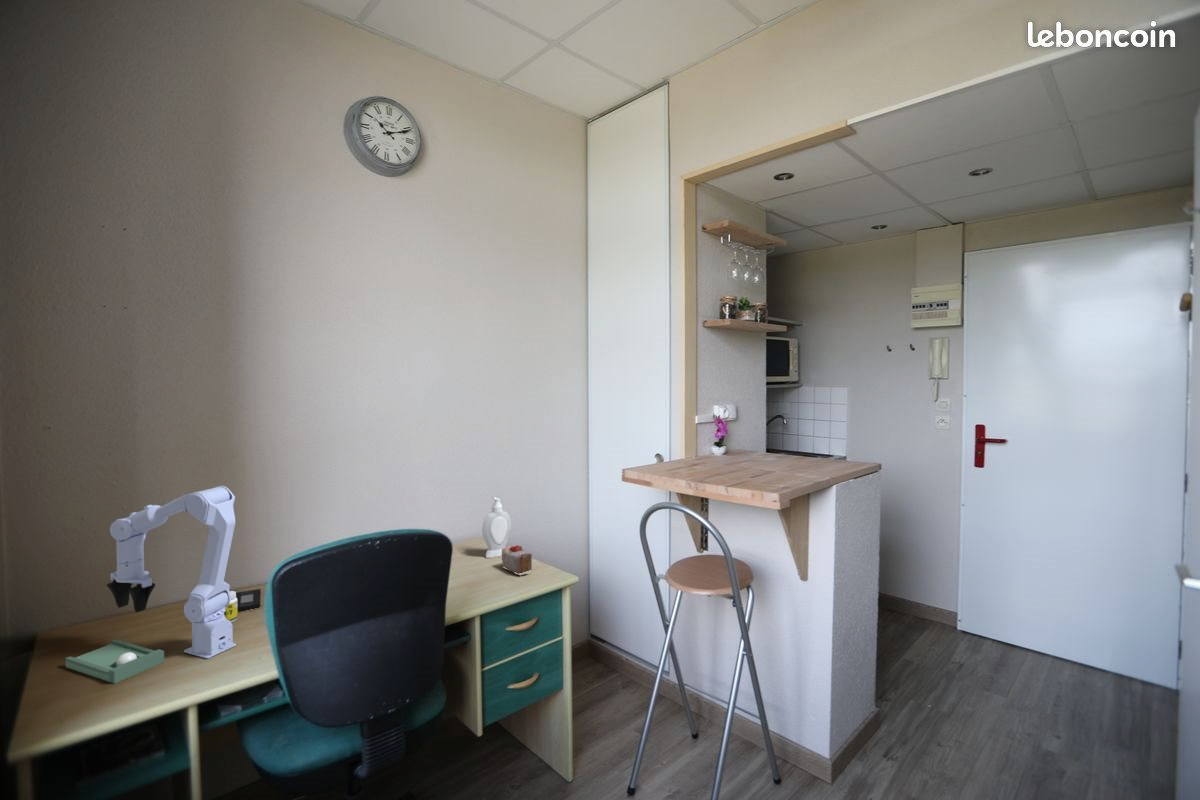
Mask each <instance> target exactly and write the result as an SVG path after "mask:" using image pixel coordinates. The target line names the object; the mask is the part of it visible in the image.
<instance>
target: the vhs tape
mask: <svg viewBox="0 0 1200 800" xmlns="http://www.w3.org/2000/svg"><path fill="white" fill-rule="evenodd" d="M261 593H262V591H261V588H259V589H257V588H256V589H252V590H245V591H238V592H236V598H237V613H242V611H243V612H247V611H246V610H249V611H251V610H250V609H254V610H256V609H255V608H259V607H260V608H261Z"/></svg>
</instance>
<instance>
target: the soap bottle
mask: <svg viewBox="0 0 1200 800" xmlns="http://www.w3.org/2000/svg"><path fill="white" fill-rule="evenodd" d="M491 498H492V499H494V500H493V501H494V502H493V505H491V511H490V512H489V513H487V514H486V516H485V518H483V519H484V520H483V523H482V526H481V527H482V529H481V532H482V536H483V539H484V542H485V544H486V546H487V548H488V549H487V550H486V553H485V556H487V557H494V556H500V555H502V549H503V548H505V547H507V543H508V540H509V537H510V534H511V531H512V520H511V516H510V514H509V513H508V512H507V511H505V510H503V505H502V503H501V498H498V497H495V496H492V497H491Z"/></svg>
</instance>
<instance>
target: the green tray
mask: <svg viewBox="0 0 1200 800" xmlns="http://www.w3.org/2000/svg"><path fill="white" fill-rule="evenodd" d="M127 652H132V653H134V654H135V655H136V656H137V659H134V660H132V661H129V662H127V663H125V664H122V665H120V666H117V665H116V662H117V659H118V658H119V657H120V656H121V655H122V654H124V653H127ZM163 663H165V650H162V649H156V650H154V649H151V648H148V647H145V646H142V645H141V646H140V645H138V644H133V643H131V642H127V641H124V640H120V639H116V638H115V639H113V640H111V643H110V644H107V645H105V646H102V647H99V648H97V649H94V650H92V651H89V652H86V653H84V654H81V655H79V656H76V657H74V656H67V657H65V668H67V669H71V670H74V671H75V672H79V673H82V674H85V675H88V676H90V677H94V678H96V679H100V680H103V681H106V682H108V683H112V684H117V683H119V682H121V681H123V680H126V679H128V678H130V677H133V676H136V675H138V674H140V673H142V672H144V671H146V670H149V669H152V668H153V667H156V666H159V665H160V664H163Z"/></svg>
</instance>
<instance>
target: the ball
mask: <svg viewBox="0 0 1200 800" xmlns="http://www.w3.org/2000/svg"><path fill="white" fill-rule="evenodd" d="M134 659H137V656H136V655H135V654H134V653H132V652H127V653H124V654H122V655H121V656H120V657H119V658H118V659H117V662H116V665H117V666H120V665H122V664H125V663H127V662H129V661H132V660H134Z"/></svg>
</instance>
